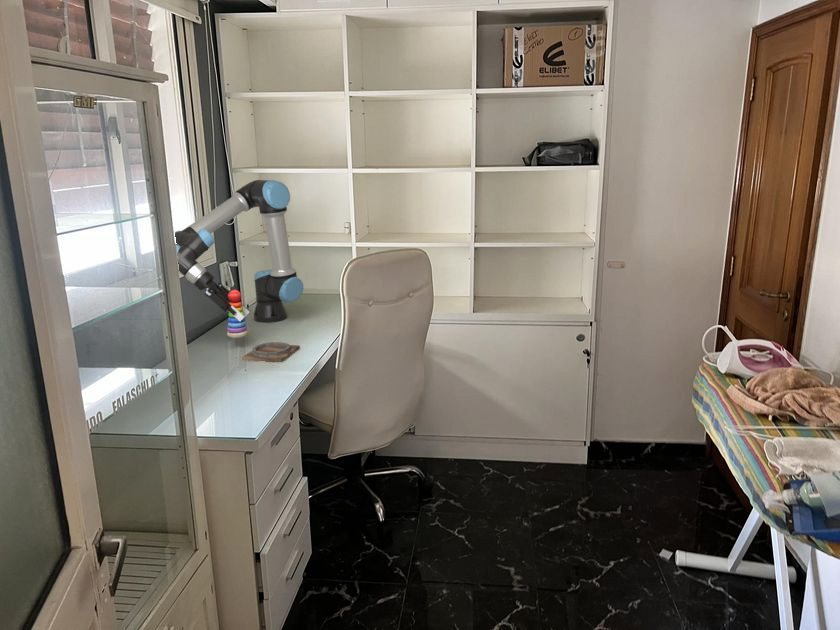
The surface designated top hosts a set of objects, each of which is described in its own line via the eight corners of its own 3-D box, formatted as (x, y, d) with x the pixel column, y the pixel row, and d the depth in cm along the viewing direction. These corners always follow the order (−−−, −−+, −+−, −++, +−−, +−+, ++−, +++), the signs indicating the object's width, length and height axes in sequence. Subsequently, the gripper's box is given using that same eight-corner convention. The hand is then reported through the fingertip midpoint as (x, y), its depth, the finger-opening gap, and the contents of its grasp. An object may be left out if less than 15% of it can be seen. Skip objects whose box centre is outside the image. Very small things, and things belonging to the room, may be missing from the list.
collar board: (263, 346, 261) (262, 339, 260) (299, 348, 258) (299, 341, 257) (242, 360, 244) (241, 353, 243) (281, 362, 241) (280, 356, 240)
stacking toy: (242, 338, 254) (237, 293, 249) (223, 337, 256) (218, 292, 250) (251, 332, 261) (246, 288, 256) (233, 331, 263) (228, 287, 258)
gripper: (203, 278, 263) (246, 316, 266) (184, 289, 244) (231, 330, 248) (214, 265, 261) (257, 304, 265) (196, 275, 243) (243, 316, 246)
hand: (244, 316), depth 256 cm, fingers closed on stacking toy, 6 cm apart
